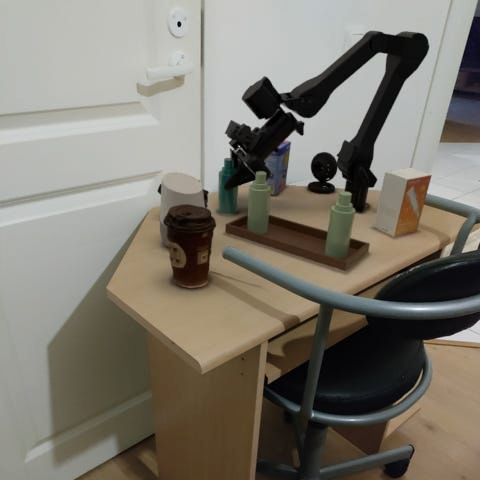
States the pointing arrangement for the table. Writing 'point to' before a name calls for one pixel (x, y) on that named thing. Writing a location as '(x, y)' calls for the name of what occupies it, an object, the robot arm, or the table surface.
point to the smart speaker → (178, 195)
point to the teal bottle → (227, 197)
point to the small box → (402, 200)
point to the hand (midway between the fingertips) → (222, 185)
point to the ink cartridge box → (278, 167)
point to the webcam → (323, 172)
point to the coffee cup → (189, 243)
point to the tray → (298, 241)
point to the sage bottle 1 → (259, 204)
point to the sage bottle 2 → (340, 227)
